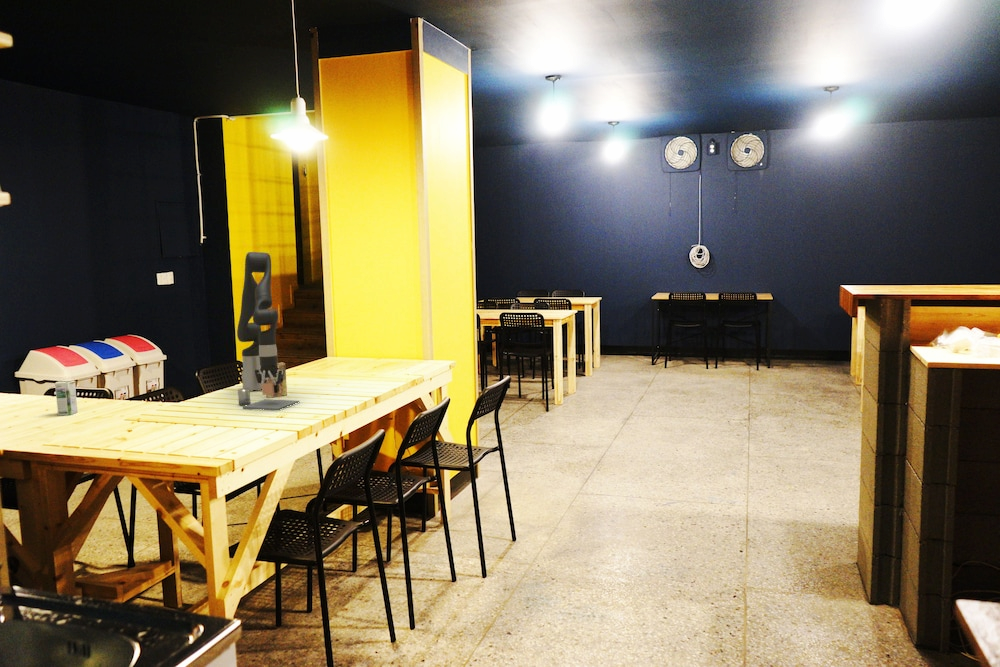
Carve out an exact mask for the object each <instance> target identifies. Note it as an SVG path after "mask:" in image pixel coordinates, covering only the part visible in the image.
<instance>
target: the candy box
mask: <svg viewBox="0 0 1000 667" xmlns="http://www.w3.org/2000/svg"><path fill="white" fill-rule="evenodd" d="M277 367H278V369H279V370H284V377H283V382H282V383H280V384H279V393H277V394H274V395H265V396H266V398H269V397H271V398H276V397H275V396H277V397H282V396H281V395H284V396H287V395H288V386H287V371H286V363H285V362H278V365H277ZM277 376H278V372H277ZM274 378H275V377H274ZM267 382H273V381H272V380H271V378H268V380H267ZM286 394H287V395H286Z"/></svg>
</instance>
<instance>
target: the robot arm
mask: <svg viewBox="0 0 1000 667" xmlns="http://www.w3.org/2000/svg"><path fill="white" fill-rule="evenodd" d="M244 263H245V264H244V277H243V278H244V279H243V281H244V282H243V286H242V289H243V290H242V293H241V294H242V295H241V306H240V314H239V320H238V325H237V329H236V333H237V334H236V336H237V339H238V341H239V342H241V343H247V342H248V343H249V342H253V343H252V344H251V345H250V346H248V347H246V348H243V349H242V350H241V355H242V356H241V357H242V370H241V380H242V383H241V384H242V389H243V388H249V389H250V392H254V391H253V390H258V391H262V390H261V389H262V383H265V382H267V380H268V378H271V380H272V381H273V383H274V393H278V392H279V384H280V383H282V382H283V377H284V370H279V369H278V367H277V365H278V363H279V362H278V348H277V342H276V341H277V340H276V331H277V325H278V323H279V322H278V320H279V312H278V311H277V310H276V309H275V308H271V307H272V306H273V296H272V258H271V255H270V254H269V253H268V252H261V251H260V252H259V251H258V252H255V251H248V252H247V253H246V256H245V260H244ZM253 273H263V276H262V279H260V281H259V283H257V281H256V279H255V277H254V275H253ZM251 319H252V321H253V322H250V321H251ZM263 326H269V328H268V329H265V330H262V327H263ZM277 372H278V376H277ZM274 377H275V378H274Z"/></svg>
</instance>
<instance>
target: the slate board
mask: <svg viewBox="0 0 1000 667" xmlns="http://www.w3.org/2000/svg"><path fill="white" fill-rule="evenodd" d="M298 402H299V403H300V400H295V399H294V400H293V399H292V400H290V399H289V400H288V399H270V398H269V399H267V398H266V399H262V400H258V401H255V402H252V403H251V404H250V405H247V406H242V410H252V409H262V410H261V411H274V410H279V411H281V410H280V409H282V408H285V407H287V406H290V405H293V404H295V403H298ZM299 403H298V404H299ZM295 405H296V404H295ZM293 406H294V405H293ZM290 407H291V406H290ZM287 408H288V407H287ZM263 409H264V410H263ZM285 409H286V408H285ZM282 410H283V409H282Z"/></svg>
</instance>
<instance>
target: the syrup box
mask: <svg viewBox="0 0 1000 667" xmlns="http://www.w3.org/2000/svg"><path fill="white" fill-rule="evenodd" d="M54 387H55V397H56V407H57V416H73V415H74V414H77V413H78V404H77V403H78V402H77V391H76V382H75V380H59V381H56V382H55V383H54Z"/></svg>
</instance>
